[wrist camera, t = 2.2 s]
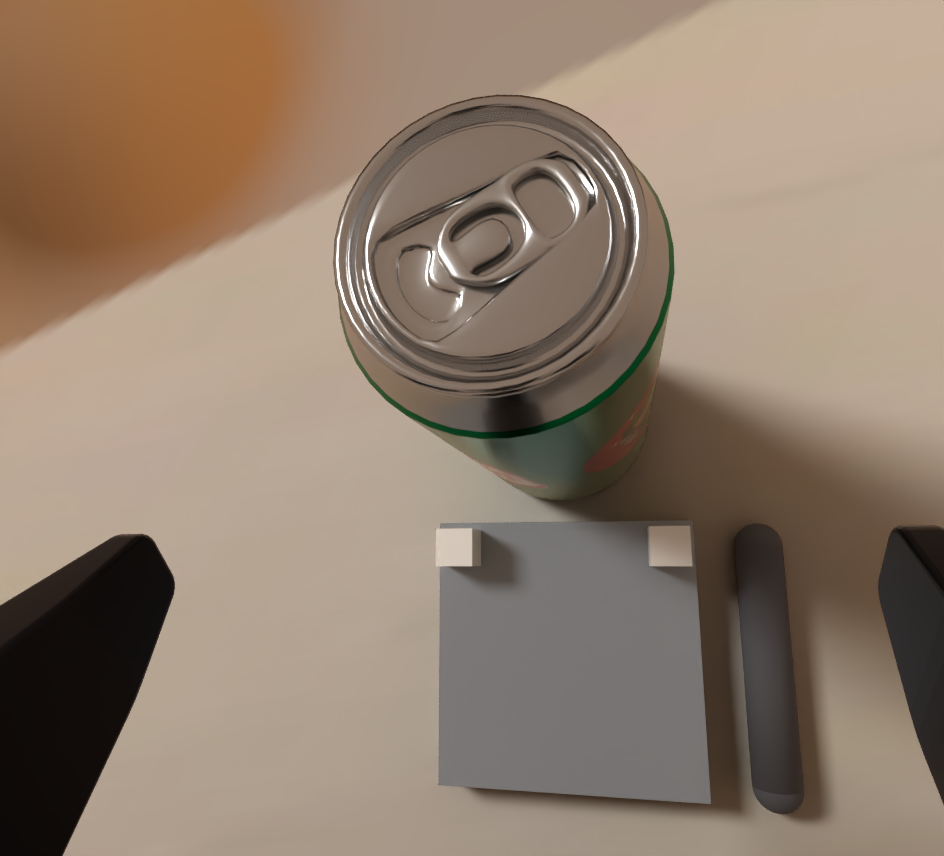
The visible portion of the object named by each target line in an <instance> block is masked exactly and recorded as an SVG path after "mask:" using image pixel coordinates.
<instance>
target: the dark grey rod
mask: <svg viewBox="0 0 944 856" xmlns="http://www.w3.org/2000/svg"><path fill="white" fill-rule="evenodd" d="M734 548H735V561H736V575H737V588H738V602H739V615H740V629H741V642H742V656H743V669H744V683H745V696H746V710H747V723H748V737H749V750H750V763H751V777H752V787H753V791H754V794H755V796H756V798H757V799H758V801H759V802H760V803H761V804H762V805H763V806H764V807H765V808H766V809H768V810H770V811H771V812H774V813H778V814H788V813H791V812H793V811H795V810H796V809H798V807H799V806H800V805H801V803H802V801H803V797H804V786H803V774H802V763H801V751H800V740H799V729H798V717H797V706H796V694H795V683H794V672H793V660H792V649H791V637H790V626H789V614H788V603H787V592H786V580H785V569H784V557H783V546H782V541H781V539H780V537H779V535H778V534H777V533H776V532H775V530H773V529H772V528H770V527H768V526H766V525H763V524H751V525H748V526H746V527H744V528H743V529H741V530H740V531H739V533H738V534H737V536H736V538H735V543H734Z"/></svg>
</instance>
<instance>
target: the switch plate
mask: <svg viewBox="0 0 944 856" xmlns="http://www.w3.org/2000/svg"><path fill="white" fill-rule="evenodd" d="M436 566H440V656H439V785H445V786H459V787H473V788H488V789H502V790H516V791H531V792H545V793H559V794H573V795H588V796H602V797H616V798H631V799H645V800H659V801H674V802H688V803H702V804H711V796H710V780H709V764H708V749H707V733H706V717H705V701H704V685H703V669H702V654H701V638H700V622H699V606H698V590H697V574H696V559H695V543H694V527H693V520H670V521H595V522H521V523H446V524H440V529H436Z"/></svg>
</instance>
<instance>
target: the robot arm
mask: <svg viewBox="0 0 944 856" xmlns="http://www.w3.org/2000/svg"><path fill="white" fill-rule="evenodd" d="M174 590H175V581H174V577H173V575H172V573H171V571H170V569H169V567H168V565H167V564H166V562H165V560H164V558H163V556H162V554H161V553H160V551H159V549H158V547H157V545H156V544H155V542H154V541H153V539H152V538H150V537H149V536H148V535H144V534H121V535H117V536H114V537H112V538H110V539H109V540H107V541H105V542H104V543H102V544H100V545H99V546H97V547H96V548H94V549H92V550H91V551H89V552H87V553H86V554H84V555H82V556H81V557H79V558H77V559H76V560H74V561H73V562H71V563H69V564H68V565H66V566H64V567H63V568H61V569H59V570H58V571H56V572H54V573H53V574H51V575H50V576H48V577H46V578H45V579H43V580H41V581H40V582H38V583H36V584H35V585H33V586H31V587H30V588H28V589H27V590H25V591H23V592H22V593H20V594H18V595H17V596H15V597H13V598H12V599H10V600H8V601H7V602H5V603H4V604H2V605H0V856H63V854H64V851H65V849H66V847H67V845H68V843H69V841H70V839H71V837H72V834H73V832H74V830H75V828H76V826H77V824H78V822H79V820H80V817H81V815H82V813H83V811H84V809H85V807H86V805H87V803H88V800H89V798H90V796H91V794H92V792H93V790H94V788H95V786H96V783H97V781H98V779H99V777H100V775H101V773H102V771H103V769H104V766H105V764H106V762H107V760H108V758H109V756H110V754H111V752H112V749H113V747H114V745H115V743H116V741H117V739H118V737H119V735H120V732H121V730H122V728H123V726H124V724H125V722H126V720H127V718H128V715H129V713H130V711H131V709H132V706H133V704H134V702H135V700H136V697H137V694H138V692H139V689H140V687H141V684H142V681H143V679H144V676H145V673H146V670H147V668H148V665H149V662H150V659H151V656H152V654H153V651H154V648H155V645H156V643H157V640H158V637H159V634H160V631H161V629H162V626H163V623H164V620H165V618H166V615H167V612H168V609H169V606H170V604H171V601H172V598H173V595H174ZM878 591H879V599H880V603H881V607H882V611H883V615H884V618H885V622H886V626H887V629H888V633H889V637H890V640H891V644H892V648H893V651H894V655H895V659H896V662H897V666H898V670H899V673H900V677H901V681H902V685H903V688H904V692H905V696H906V699H907V703H908V707H909V710H910V714H911V717H912V721H913V724H914V727H915V731H916V734H917V737H918V740H919V743H920V745H921V748H922V751H923V753H924V756H925V759H926V761H927V764H928V766H929V769H930V771H931V774H932V776H933V779H934V781H935V784H936V786H937V789H938V791H939V794H940V796H941V799H942V801H943V804H944V529H943V528H941V527H939V526H934V525H902V526H898V527H896V528H894V529H893V530H892V532H891V534H890V536H889V540H888V544H887V548H886V552H885V556H884V560H883V564H882V568H881V572H880V576H879V583H878Z"/></svg>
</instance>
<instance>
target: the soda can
mask: <svg viewBox="0 0 944 856" xmlns="http://www.w3.org/2000/svg"><path fill="white" fill-rule="evenodd" d="M333 265H334V275H335V285H336V289H337V292H338V300H339V310H340V319H341V323H342V327H343V330H344V334H345V338H346V342H347V344H348V346H349V348H350V350H351V353H352V355H353V357H354V359H355V361H356V364H357V365H358V366H359V368H360V369H361V371H362V372H363V374H364V375H365V377H366V378H367V380H368V381H369V383H370V384H371V385H372V386H373V387H374V388H375V389H376V390H377V391H378V392H379V393H380V394H381V395H382V396H383V398H384V399H385V400H386V401H387V402H389V403H390V404H391V405H393V406H394V407H395V408H397V409H398V410H400V411H401V412H402V413H404V414H405V415H406V416H408V417H409V418H411V419H412V420H414V421H415V422H417V423H418V424H420V425H421V426H423V427H424V428H426V429H427V430H429V431H430V432H432V433H433V434H435V435H436V436H438V437H439V438H441V439H442V440H444V441H445V442H447V443H448V444H450V445H451V446H453V447H454V448H456V449H458V450H459V451H461V452H462V453H464V454H465V455H467V456H468V457H470V458H471V459H473V460H474V461H476V462H477V463H479V464H480V465H482V466H483V467H485V468H486V469H488V470H489V471H491V472H492V473H494V474H495V475H497V476H498V477H500V478H501V479H503V480H504V481H506V482H507V483H509V484H510V485H512V486H513V487H515V488H517V489H519V490H521V491H523V492H525V493H527V494H530V495H533V496H536V497H539V498H545V499H551V500H569V499H575V498H581V497H584V496H588V495H591V494H594V493H596V492H598V491H600V490H602V489H604V488H606V487H607V486H609V485H610V484H612V483H613V482H614V481H616V480H617V479H618V478H619V477H620V476H621V475H622V474H623V473H624V472H625V471H626V470H627V469H628V468H629V467H630V466H631V464H632V463H633V461H634V460H635V459H636V457H637V455H638V453H639V451H640V449H641V447H642V445H643V442H644V439H645V436H646V432H647V427H648V422H649V416H650V411H651V405H652V400H653V394H654V389H655V383H656V378H657V372H658V367H659V361H660V356H661V350H662V345H663V340H664V334H665V329H666V323H667V318H668V312H669V307H670V301H671V294H672V287H673V280H674V248H673V242H672V237H671V233H670V228H669V223H668V220H667V217H666V215H665V212H664V210H663V207H662V205H661V203H660V200H659V198H658V196H657V194H656V193H655V191H654V190H653V188H652V187H651V185H650V183H649V182H648V180H647V179H646V177H645V176H644V175H643V173H642V172H641V171H640V170H639V169H638V168H637V167H636V166H635V165H634V164H633V163H632V162H631V160H630V159H629V158H628V157H627V156H626V155H625V153H624V152H623V150H622V148H621V147H620V146H619V145H618V144H617V143H616V142H615V141H614V140H613V139H612V138H611V136H610V135H609V134H608V133H607V132H606V131H605V130H603V129H602V128H601V127H599V126H598V125H597V124H596V123H594V122H593V121H592V120H590V119H589V118H588V117H586V116H584V115H582V114H580V113H578V112H576V111H574V110H573V109H571V108H569V107H567V106H564V105H561V104H558V103H555V102H552V101H549V100H546V99H541V98H535V97H529V96H523V95H492V96H485V97H477V98H472V99H468V100H464V101H461V102H456V103H453V104H450V105H447V106H445V107H443V108H440V109H438V110H435V111H433V112H431V113H428V114H427V115H425V116H423V117H422V118H420V119H418V120H417V121H415V122H413V123H411V124H410V125H408V126H407V127H406V128H404V129H403V130H402V131H400V132H399V133H398V134H397V135H395V136H394V137H393V138H391V139H390V140H389V141H388V142H387V143H386V144H385V145H384V146H383V147H382V148H381V149H380V150H379V151H378V152H377V153H376V154H375V155H374V156H373V157H372V159H371V160H370V161H369V163H368V164H367V165H366V167H365V168H364V169H363V171H362V172H361V174H360V175H359V176H358V178H357V180H356V182H355V184H354V185H353V187H352V189H351V191H350V193H349V194H348V196H347V199H346V202H345V204H344V207H343V210H342V212H341V215H340V218H339V222H338V227H337V231H336V236H335V241H334V258H333Z"/></svg>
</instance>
